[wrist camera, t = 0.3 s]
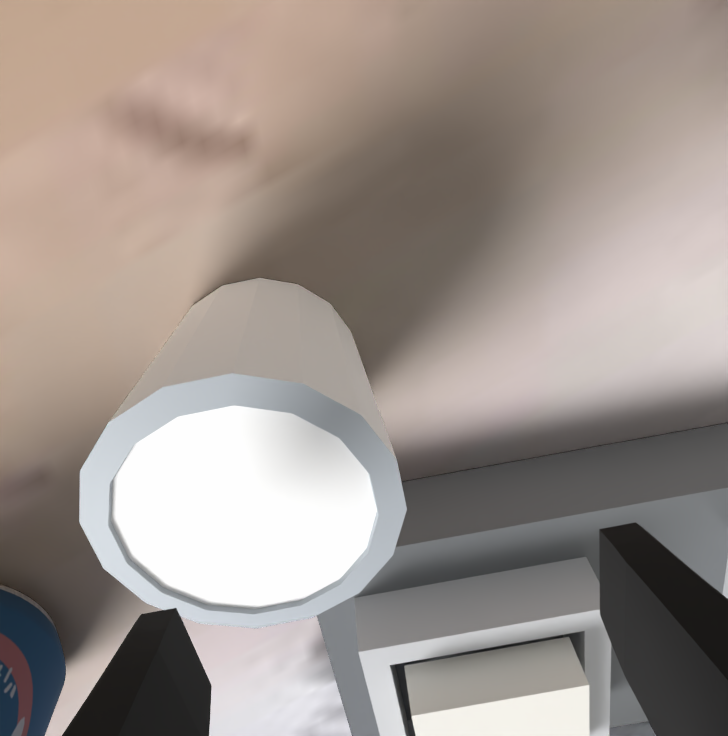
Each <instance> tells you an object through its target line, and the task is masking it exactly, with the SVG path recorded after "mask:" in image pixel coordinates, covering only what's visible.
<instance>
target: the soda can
mask: <svg viewBox="0 0 728 736" xmlns="http://www.w3.org/2000/svg"><path fill="white" fill-rule="evenodd" d="M65 675H66V666H65V658H64V654H63V650H62V646H61V643H60V639H59V636H58V633H57V630H56V627H55V625H54V623H53V621H52V619H51V618H50V616H49V615H48V613H47V612H46V611H45V610H44V609H43V608H42V607H41V606H40V605H39V604H37V603H36V602H35V601H33V600H32V599H31V598H29V597H28V596H26V595H24V594H22V593H20V592H18V591H16V590H14V589H12V588H9V587H6V586H3V585H0V736H45V733H46V730H47V728H48V725H49V722H50V720H51V717H52V714H53V712H54V709H55V706H56V704H57V701H58V698H59V696H60V693H61V691H62V688H63V685H64V681H65Z"/></svg>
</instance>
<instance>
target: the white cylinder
mask: <svg viewBox="0 0 728 736" xmlns="http://www.w3.org/2000/svg"><path fill="white" fill-rule="evenodd" d="M406 511H407V507H406V502H405V497H404V492H403V487H402V482H401V477H400V472H399V467H398V462H397V459H396V456H395V453H394V450H393V447H392V445H391V442H390V439H389V436H388V433H387V431H386V428H385V425H384V422H383V419H382V417H381V414H380V411H379V408H378V405H377V403H376V400H375V397H374V394H373V392H372V389H371V386H370V383H369V380H368V378H367V375H366V372H365V369H364V366H363V364H362V361H361V358H360V355H359V352H358V350H357V347H356V344H355V341H354V338H353V336H352V333H351V331H350V329H349V328H348V327H347V325H346V324H345V323H344V321H343V320H342V319H341V317H340V316H339V315H338V313H337V312H336V311H335V309H334V308H333V306H332V305H331V304H330V303H329V302H327V301H325V300H324V299H322V298H320V297H319V296H317V295H315V294H314V293H312V292H310V291H309V290H307V289H305V288H304V287H302V286H300V285H299V284H294V283H288V282H282V281H276V280H270V279H264V278H256V279H251V280H246V281H241V282H236V283H232V284H227V285H222V286H221V287H219V288H218V289H216V290H215V291H213V292H212V293H210V294H209V295H207V296H206V297H204V298H203V299H202V300H200V301H199V302H197V303H196V304H194V305H193V306H192V307H191V308H190V310H189V311H188V312H187V314H186V315H185V317H184V318H183V319H182V321H181V322H180V324H179V325H178V326H177V328H176V329H175V331H174V332H173V333H172V335H171V336H170V337H169V339H168V340H167V342H166V343H165V344H164V346H163V347H162V349H161V350H160V351H159V353H158V354H157V356H156V357H155V358H154V360H153V361H152V363H151V364H150V365H149V367H148V368H147V370H146V371H145V372H144V374H143V375H142V377H141V378H140V379H139V381H138V382H137V383H136V385H135V386H134V388H133V389H132V390H131V392H130V393H129V395H128V396H127V397H126V399H125V400H124V402H123V403H122V404H121V406H120V407H119V409H118V410H117V411H116V413H115V414H114V416H113V417H112V418H111V420H110V421H109V423H108V424H107V426H106V428H105V429H104V431H103V433H102V434H101V436H100V438H99V439H98V441H97V443H96V445H95V446H94V448H93V450H92V451H91V453H90V455H89V456H88V458H87V460H86V461H85V463H84V465H83V467H82V468H81V470H80V506H79V523H80V525H81V527H82V529H83V530H84V532H85V534H86V536H87V538H88V540H89V542H90V544H91V546H92V548H93V550H94V551H95V553H96V555H97V557H98V559H99V561H100V563H101V565H102V567H103V569H105V570H106V571H107V572H108V573H110V574H111V575H112V576H113V577H114V578H116V579H117V580H118V581H119V582H121V583H122V584H123V585H124V586H125V587H127V588H128V589H129V590H130V591H132V592H133V593H134V594H135V595H136V596H138V597H139V598H140V599H141V600H143V601H144V602H145V603H147V604H149V605H152V606H154V607H157V608H160V609H162V610H167V609H173V608H177V611H178V613H179V615H180V616H181V617H183V618H186V619H189V620H191V621H194V622H196V623H199V624H210V625H222V626H234V627H246V628H262V627H267V626H272V625H277V624H283V623H288V622H293V621H298V620H303V619H309V618H313V617H315V616H317V615H319V614H320V613H322V612H324V611H326V610H328V609H330V608H332V607H334V606H336V605H337V604H339V603H341V602H343V601H345V600H347V599H349V598H351V597H353V596H354V595H356V594H358V593H360V592H361V591H362V590H363V588H364V587H365V586H366V585H367V584H368V583H369V582H370V581H371V579H372V578H373V577H374V576H375V575H376V574H377V573H378V572H379V571H380V569H381V568H382V567H383V566H384V565H385V564H386V563H387V562H388V560H389V559H390V558H391V557H392V556H393V554H394V550H395V547H396V544H397V541H398V537H399V534H400V531H401V527H402V524H403V521H404V517H405V514H406Z"/></svg>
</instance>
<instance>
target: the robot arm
mask: <svg viewBox="0 0 728 736" xmlns="http://www.w3.org/2000/svg"><path fill="white" fill-rule="evenodd" d="M599 563H600V616H601V618H602V621H603V624H604V626H605V629H606V631H607V634H608V636H609V639H610V641H611V644H612V647H613V649H614V651H615V654H616V656H617V659H618V661H619V664H620V666H621V668H622V671H623V673H624V675H625V677H626V679H627V681H628V683H629V685H630V687H631V689H632V691H633V693H634V695H635V696H636V698H637V700H638V702H639V704H640V706H641V708H642V710H643V712H644V714H645V715H646V717H647V719H648V721H649V723H650V725H651V727H652V729H653V730H654V732H655V734H656V736H728V598H726V597H725V596H724V595H722V594H721V593H720V592H719V591H718V590H716V589H715V588H714V587H713V586H711V585H710V584H709V583H708V582H706V581H705V580H704V579H703V578H702V577H700V576H699V575H698V574H697V573H696V572H694V571H693V570H692V569H691V568H690V567H688V566H687V565H686V564H685V563H684V562H683V561H681V560H680V559H679V558H678V557H677V556H675V555H674V554H673V553H672V552H671V551H670V550H668V549H667V548H666V547H665V546H664V545H663V544H661V543H660V542H659V541H658V540H657V539H656V538H655V537H653V536H652V535H651V534H650V533H649V532H648V531H646V530H645V529H644V528H643V527H642V526H640V525H639V524H637V523H636V522H635V523H629V524H624V525H619V526H613V527H608V528H603V529H599ZM210 704H211V684H210V681H209V679H208V677H207V675H206V673H205V670H204V668H203V666H202V664H201V661H200V659H199V657H198V655H197V653H196V650H195V648H194V646H193V644H192V642H191V639H190V637H189V635H188V633H187V630H186V628H185V626H184V624H183V622H182V619H181V617H180V615H179V613H178V611H177V608H173V609H167V610H162V611H157V612H151V613H146V614H141V615H140V617H139V618H138V620H137V621H136V622H135V624H134V626H133V627H132V629H131V630H130V632H129V633H128V635H127V636H126V638H125V639H124V641H123V643H122V644H121V646H120V647H119V649H118V651H117V652H116V654H115V655H114V657H113V658H112V660H111V662H110V663H109V665H108V666H107V668H106V669H105V671H104V673H103V674H102V676H101V677H100V679H99V680H98V682H97V683H96V685H95V687H94V688H93V690H92V691H91V693H90V694H89V696H88V697H87V699H86V700H85V702H84V703H83V705H82V706H81V708H80V709H79V711H78V712H77V714H76V715H75V717H74V718H73V720H72V721H71V723H70V724H69V726H68V727H67V729H66V730H65V732H64V733H63V735H62V736H209V724H210Z"/></svg>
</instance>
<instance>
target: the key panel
mask: <svg viewBox="0 0 728 736" xmlns="http://www.w3.org/2000/svg"><path fill="white" fill-rule="evenodd" d="M402 487H403V492H404V497H405V502H406V507H407V511H406V514H405V517H404V521H403V524H402V527H401V531H400V534H399V537H398V541H397V544H396V547H395V550H394V554H393V556H392V557H391V558H390V559H389V560H388V562H387V563H386V564H385V565H384V566H383V567H382V568H381V569H380V571H379V572H378V573H377V574H376V575H375V576H374V577H373V578H372V579H371V581H370V582H369V583H368V584H367V585H366V586H365V587H364V588H363V590H362V591H361V592H360V593H358V594H356V595H354V596H353V597H351V598H349V599H347V600H345V601H343V602H341V603H339V604H337V605H336V606H334V607H332V608H330V609H328V610H326V611H324V612H322V613H320V614H319V615H317V618H318V621H319V625H320V628H321V631H322V635H323V638H324V642H325V645H326V648H327V652H328V655H329V659H330V662H331V665H332V669H333V672H334V676H335V679H336V683H337V686H338V689H339V693H340V696H341V700H342V703H343V706H344V710H345V713H346V717H347V720H348V723H349V727H350V730H351V734H352V736H416V735H415V730H414V726H413V721H412V716H411V710H410V703H409V696H408V689H407V682H406V675H405V668H404V666H405V665H411V664H417V663H422V662H428V661H434V660H439V659H445V658H451V657H456V656H462V655H468V654H473V653H479V652H485V651H490V650H496V649H502V648H507V647H513V646H519V645H524V644H530V643H536V642H541V641H547V640H553V639H558V638H564V637H569V638H570V640H571V643H572V645H573V647H574V650H575V652H576V654H577V657H578V659H579V661H580V664H581V666H582V669H583V671H584V673H585V676H586V678H587V680H588V683H589V736H609V728H613V727H619V726H625V725H631V724H636V723H642V722H648V719H647V717H646V715H645V714H644V712H643V710H642V708H641V706H640V704H639V702H638V700H637V698H636V696H635V695H634V693H633V691H632V689H631V687H630V685H629V683H628V681H627V679H626V677H625V675H624V673H623V671H622V668H621V666H620V664H619V661H618V659H617V656H616V654H615V651H614V649H613V647H612V644H611V641H610V639H609V636H608V634H607V631H606V629H605V626H604V624H603V621H602V618H601V616H600V563H599V529H603V528H608V527H613V526H619V525H624V524H629V523H635V522H636V523H637V524H639V525H640V526H642V527H643V528H644V529H645V530H646V531H648V532H649V533H650V534H651V535H652V536H653V537H655V538H656V539H657V540H658V541H659V542H660V543H661V544H663V545H664V546H665V547H666V548H667V549H668V550H670V551H671V552H672V553H673V554H674V555H675V556H677V557H678V558H679V559H680V560H681V561H683V562H684V563H685V564H686V565H687V566H688V567H690V568H691V569H692V570H693V571H694V572H696V573H697V574H698V575H699V576H700V577H702V578H703V579H704V580H705V581H706V582H708V583H709V584H710V585H711V586H713V587H714V588H715V589H716V590H718V591H719V592H720V593H721V594H722V595H724V596H725V597H726V598H728V423H725V424H719V425H714V426H708V427H703V428H697V429H692V430H686V431H681V432H675V433H670V434H664V435H659V436H653V437H648V438H642V439H637V440H631V441H626V442H620V443H614V444H609V445H603V446H598V447H592V448H587V449H581V450H576V451H570V452H565V453H559V454H554V455H548V456H543V457H537V458H532V459H526V460H521V461H515V462H509V463H504V464H498V465H493V466H487V467H482V468H476V469H471V470H465V471H460V472H454V473H449V474H443V475H438V476H432V477H427V478H421V479H416V480H410V481H404V482H402Z"/></svg>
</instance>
